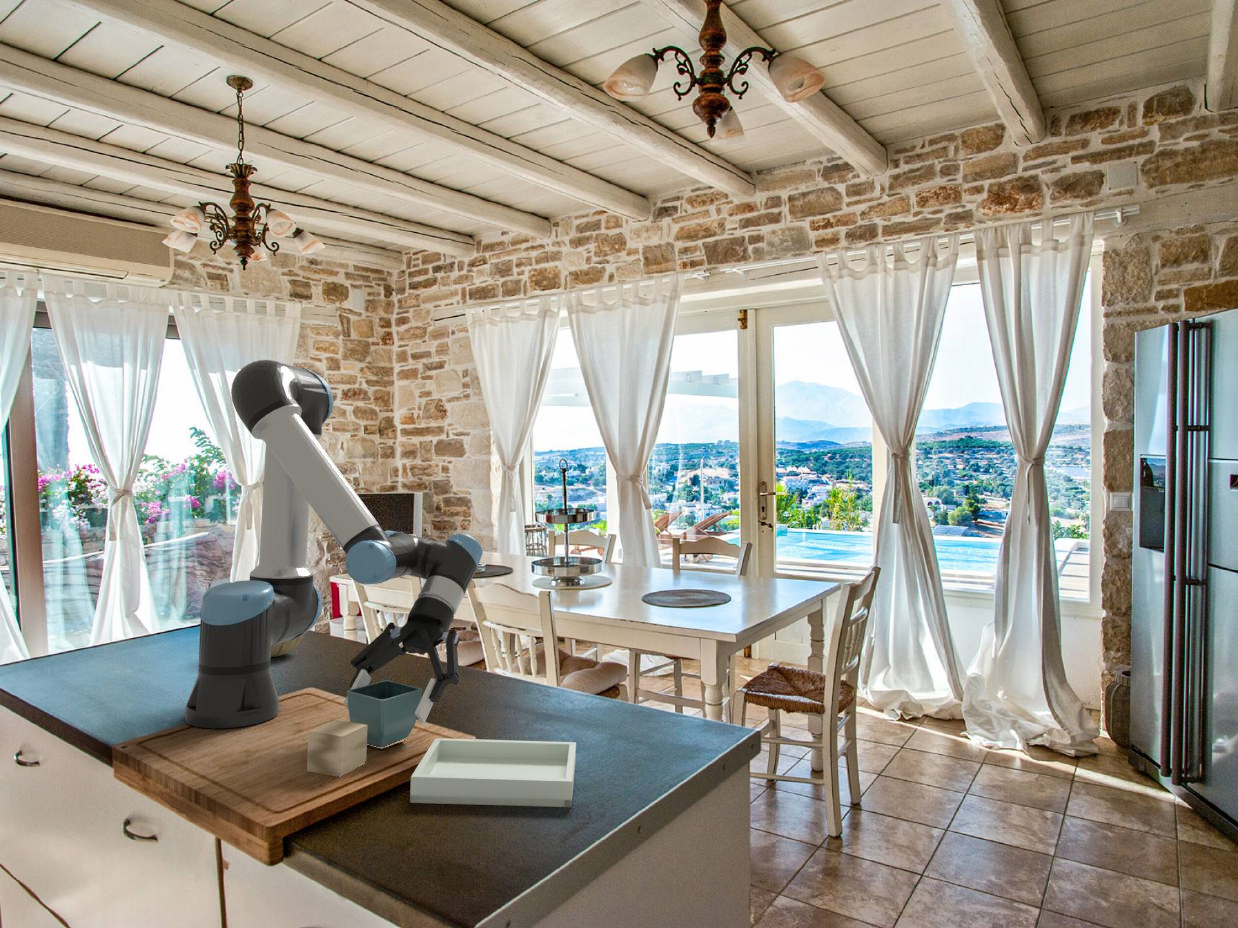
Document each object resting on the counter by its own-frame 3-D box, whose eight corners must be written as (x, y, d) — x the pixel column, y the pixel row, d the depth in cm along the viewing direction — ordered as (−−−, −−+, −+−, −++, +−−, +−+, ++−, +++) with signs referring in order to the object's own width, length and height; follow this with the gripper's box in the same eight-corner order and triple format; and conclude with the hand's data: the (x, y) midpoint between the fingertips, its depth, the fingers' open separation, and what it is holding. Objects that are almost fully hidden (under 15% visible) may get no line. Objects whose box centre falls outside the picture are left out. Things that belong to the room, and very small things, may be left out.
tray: (409, 802, 108) (410, 776, 108) (434, 760, 124) (435, 737, 124) (571, 807, 108) (572, 781, 108) (575, 764, 124) (576, 742, 124)
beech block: (306, 771, 118) (308, 730, 118) (333, 758, 124) (335, 719, 124) (340, 777, 116) (342, 736, 116) (366, 763, 122) (367, 724, 122)
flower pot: (380, 757, 125) (382, 699, 125) (342, 745, 129) (345, 689, 129) (421, 742, 132) (423, 688, 132) (384, 731, 137) (387, 679, 137)
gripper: (503, 625, 143) (458, 734, 128) (385, 613, 151) (329, 714, 136) (490, 600, 138) (442, 710, 123) (368, 589, 146) (309, 691, 131)
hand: (383, 713), depth 130 cm, fingers open, 13 cm apart
